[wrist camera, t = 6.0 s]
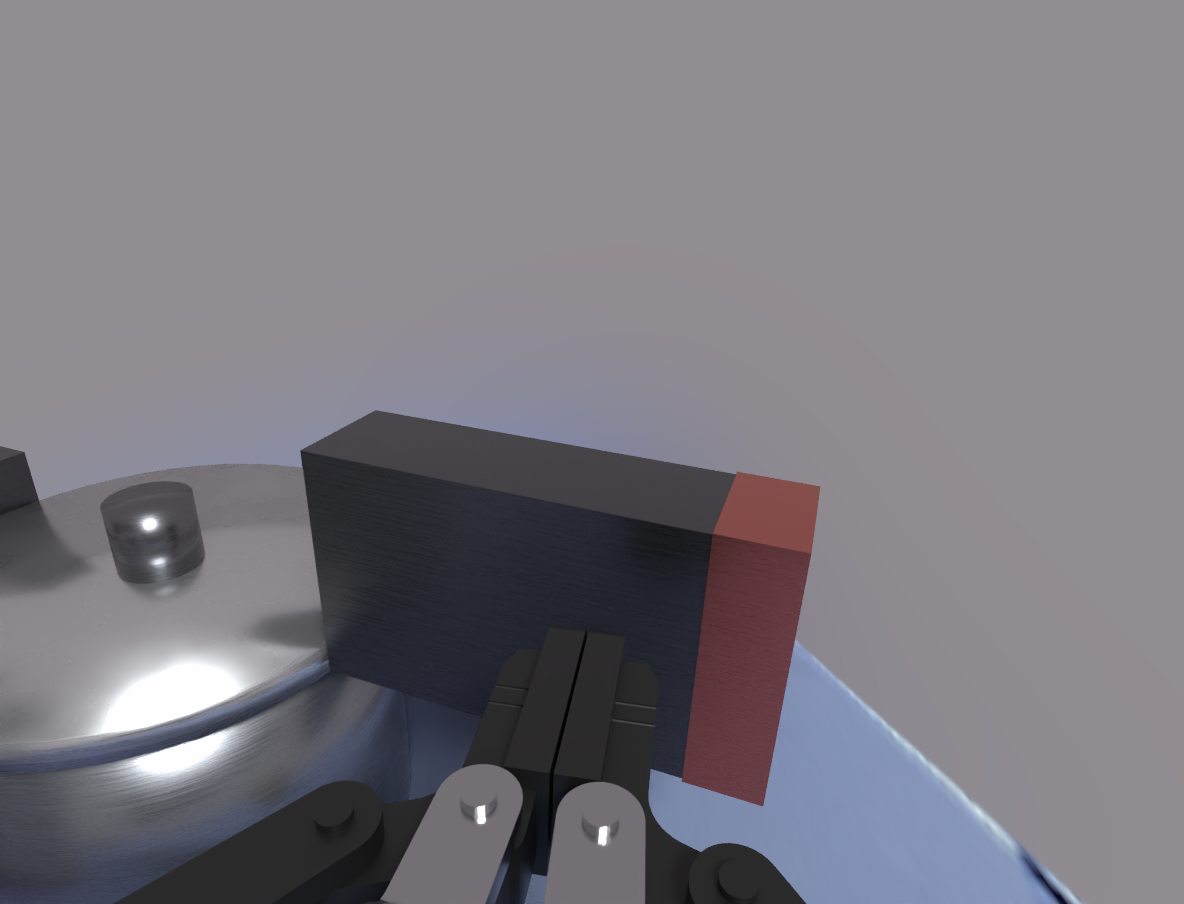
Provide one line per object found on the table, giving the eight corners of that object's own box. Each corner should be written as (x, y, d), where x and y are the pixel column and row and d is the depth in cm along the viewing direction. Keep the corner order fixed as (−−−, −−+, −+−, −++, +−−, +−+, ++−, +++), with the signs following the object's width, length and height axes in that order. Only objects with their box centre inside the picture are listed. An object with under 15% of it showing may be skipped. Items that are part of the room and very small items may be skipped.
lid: (-388, 630, 22) (-529, 402, 19) (101, 442, 35) (63, 294, 32) (714, 1112, 12) (778, 797, 9) (795, 596, 26) (830, 405, 23)
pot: (-288, 982, 22) (-466, 738, 18) (213, 577, 43) (182, 421, 39) (546, 1236, 18) (554, 989, 14) (655, 648, 39) (671, 481, 35)
